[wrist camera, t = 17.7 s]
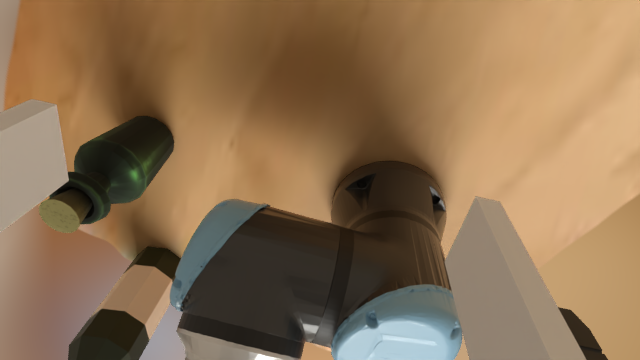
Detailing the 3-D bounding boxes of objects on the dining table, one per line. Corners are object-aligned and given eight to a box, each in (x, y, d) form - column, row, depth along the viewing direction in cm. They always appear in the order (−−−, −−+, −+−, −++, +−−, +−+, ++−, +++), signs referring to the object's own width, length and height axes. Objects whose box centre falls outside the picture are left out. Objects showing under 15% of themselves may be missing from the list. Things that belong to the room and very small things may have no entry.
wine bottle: (195, 279, 64) (81, 498, 38) (153, 288, 66) (18, 501, 40) (169, 241, 61) (24, 454, 35) (126, 252, 63) (-42, 460, 37)
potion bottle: (115, 148, 53) (11, 227, 38) (128, 97, 49) (19, 163, 34) (171, 174, 54) (93, 262, 39) (188, 127, 50) (110, 204, 35)
